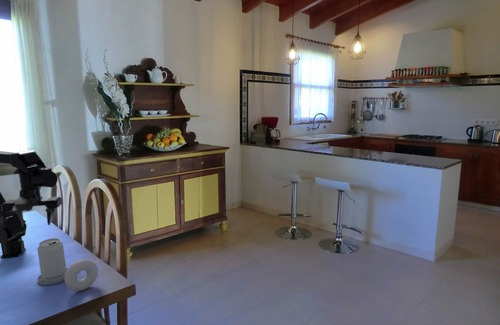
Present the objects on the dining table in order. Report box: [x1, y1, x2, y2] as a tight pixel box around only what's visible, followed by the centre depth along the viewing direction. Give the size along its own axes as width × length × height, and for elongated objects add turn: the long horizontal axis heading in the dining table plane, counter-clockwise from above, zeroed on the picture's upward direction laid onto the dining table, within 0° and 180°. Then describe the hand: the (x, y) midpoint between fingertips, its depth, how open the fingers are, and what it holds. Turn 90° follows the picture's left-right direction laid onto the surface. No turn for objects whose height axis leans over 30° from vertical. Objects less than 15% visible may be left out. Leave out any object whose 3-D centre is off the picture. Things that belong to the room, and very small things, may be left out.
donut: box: [64, 258, 99, 292], centre depth 109 cm, size 10×4×10 cm, turn 136°
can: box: [36, 237, 67, 279], centre depth 116 cm, size 8×8×12 cm
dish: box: [37, 267, 69, 287], centre depth 117 cm, size 10×10×1 cm
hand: (35, 225), depth 129 cm, fingers open, 9 cm apart
